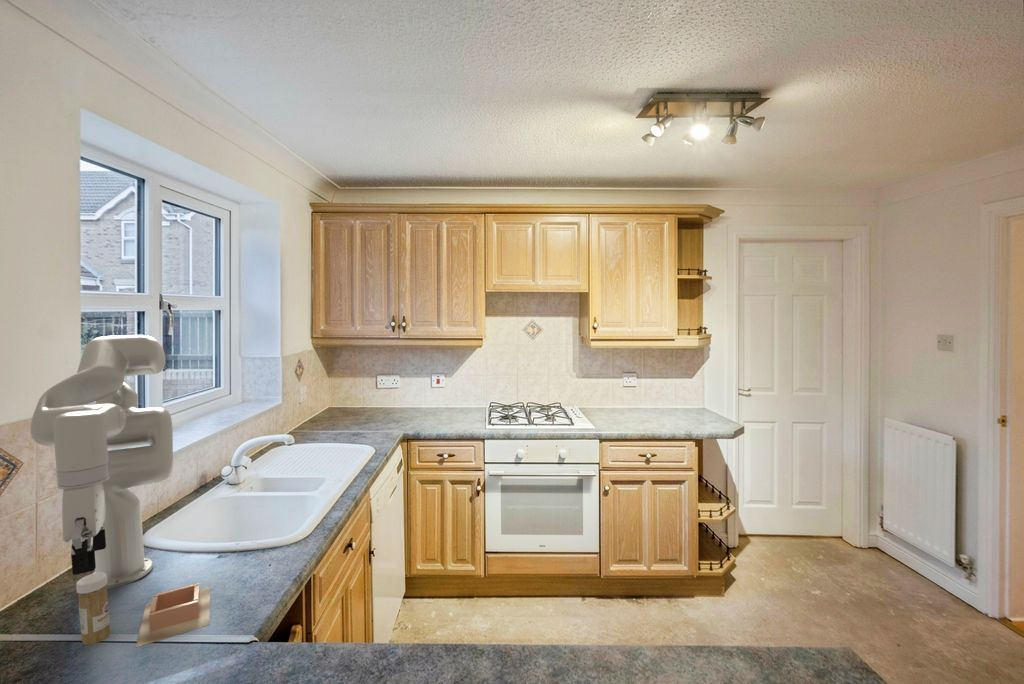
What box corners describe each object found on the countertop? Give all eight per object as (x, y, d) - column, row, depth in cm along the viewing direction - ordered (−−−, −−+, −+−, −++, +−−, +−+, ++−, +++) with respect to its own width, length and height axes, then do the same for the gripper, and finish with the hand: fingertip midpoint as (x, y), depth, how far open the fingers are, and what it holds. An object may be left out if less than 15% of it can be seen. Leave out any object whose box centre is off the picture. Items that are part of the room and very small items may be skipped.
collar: (154, 610, 103) (153, 594, 102) (200, 597, 107) (199, 582, 107) (150, 631, 96) (149, 615, 95) (199, 617, 100) (198, 601, 100)
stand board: (146, 608, 105) (146, 603, 105) (210, 591, 111) (210, 586, 111) (136, 653, 92) (135, 647, 91) (209, 630, 98) (209, 624, 98)
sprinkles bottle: (109, 644, 94) (104, 579, 93) (79, 654, 91) (73, 587, 90) (113, 631, 98) (108, 568, 97) (83, 640, 95) (78, 576, 94)
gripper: (69, 466, 97) (76, 547, 98) (43, 493, 83) (51, 588, 84) (116, 460, 101) (122, 538, 102) (99, 484, 87) (106, 575, 88)
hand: (90, 560), depth 93 cm, fingers open, 9 cm apart
